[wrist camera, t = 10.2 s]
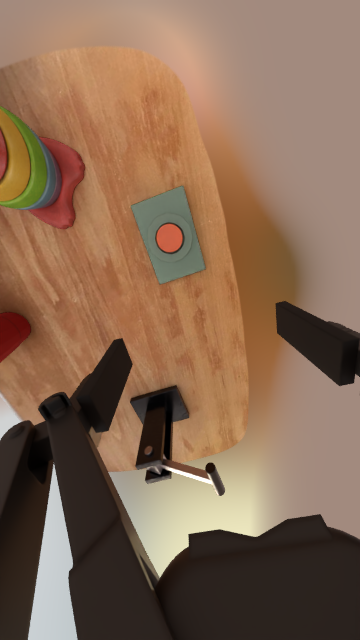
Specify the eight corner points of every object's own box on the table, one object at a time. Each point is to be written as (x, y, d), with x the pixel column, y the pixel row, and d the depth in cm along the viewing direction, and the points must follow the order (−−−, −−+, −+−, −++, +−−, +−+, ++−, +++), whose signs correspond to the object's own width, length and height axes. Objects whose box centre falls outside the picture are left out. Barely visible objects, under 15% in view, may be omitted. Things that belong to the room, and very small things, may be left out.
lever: (217, 459, 27) (212, 479, 25) (226, 482, 29) (223, 501, 27) (146, 442, 33) (138, 456, 31) (157, 461, 35) (151, 475, 33)
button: (185, 247, 28) (185, 247, 26) (162, 255, 28) (161, 255, 27) (177, 221, 27) (177, 219, 25) (154, 230, 27) (152, 229, 25)
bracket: (176, 385, 41) (175, 447, 29) (189, 413, 45) (193, 481, 32) (131, 398, 43) (110, 463, 30) (146, 425, 46) (134, 494, 33)
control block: (204, 267, 32) (207, 270, 29) (160, 282, 33) (158, 286, 29) (182, 189, 28) (183, 180, 24) (133, 208, 29) (127, 202, 25)
